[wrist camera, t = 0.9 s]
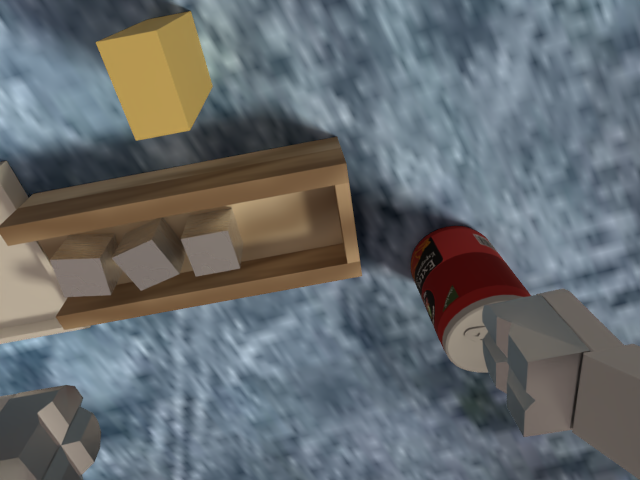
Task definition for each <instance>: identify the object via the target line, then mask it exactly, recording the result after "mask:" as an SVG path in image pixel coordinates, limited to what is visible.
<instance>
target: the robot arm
mask: <svg viewBox="0 0 640 480" xmlns="http://www.w3.org/2000/svg"><path fill="white" fill-rule="evenodd" d="M482 322H483V324H484V325H485V327H486V329H487V330H488V333H487V334H486V335H485V337H484V338H483V339H482V341H483V355H484V359H485V363H486V367H487V370H488V372H489V375H490V377H491V379H492V381H493V383H494V385H495V386H496V388H498V389H500V390H501V391H503V392H505V393H506V394H507V408H508V410H509V412H510V414H511V415H512V417H513V419H514V421H515V422H516V424H517V426H518V428H519V430H520V431H521V433H522V435H523V437H527V436H534V435H540V434H547V433H553V432H560V431H566V430H573V431H572V432H573V433H574V434H576V435H577V436H579V437H580V438H581V439H583V440H584V441H586V442H587V443H588V444H590V445H591V446H593V447H594V448H596V449H597V450H598V451H600V452H601V453H603V454H604V455H605V456H607V457H608V458H610V459H611V460H613V461H614V462H615V463H617V464H618V465H620V466H621V467H622V468H624V469H625V470H627V471H628V472H630V473H631V474H632V475H634V476H635V477H637V478H638V479H640V346H637V345H635V344H630V345H624V344H622V343H621V342H620V341H619V340H618V339H617V338H616V337H615V336H614V335H613V334H612V333H611V332H610V331H609V330H608V329H607V328H606V327H605V326H604V325H603V324H602V323H601V322H600V321H599V320H598V319H597V318H596V317H595V316H594V315H593V314H592V313H591V312H590V311H589V310H588V309H587V308H586V307H585V306H584V305H583V304H582V303H581V302H580V301H579V300H578V299H577V298H576V297H575V296H574V295H573V294H572V293H571V292H570V291H568V290H565V289H559V290H554V291H549V292H545V293H540V294H537V295H533V296H528V297H523V298H518V299H513V300H508V301H503V302H498V303H492V304H487V305H484V308H483V311H482ZM82 400H83V397H82V396H81V394H80V393H79V391H78V390H77V389H76V387H75V386H69V385H64V386H58V387H52V388H46V389H40V390H34V391H28V392H22V393H18V394H13V395H7V396H1V397H0V480H83V477H82V474H83V473H84V472H85V471H86V470H87V469H88V468H89V467H90V466H91V465H92V464H93V463H94V462H95V459H96V457H97V454H98V451H99V449H100V439H101V431H100V427H99V423H98V421H97V419H96V417H95V416H94V414H93V413H92V412H90V411H88V410H86V409H84V408H82V407H81V403H82Z"/></svg>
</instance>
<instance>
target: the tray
mask: <svg viewBox="0 0 640 480" xmlns="http://www.w3.org/2000/svg"><path fill="white" fill-rule="evenodd" d="M28 198H29V197H28V196H27V194H26V192H25V191H24V189H23V187H22V186H21V184H20V182H19V181H18V179H17V177H16V176H15V174H14V172H13V171H12V169H11V167H10V165H9V164H8V162H7V161H3V162H0V225H1V224H2V223H3V222H4V221H5V220H6V219H7V218H8V217H9V216H10V215H11V214H12V213H13V212H14V211H16V210H17V209H18V208H19V207H20V206H21V205H22V204H23V203H24V202H25V201H26V200H27V199H28ZM67 298H68V297H64V295H63V292H62V290H61V287H60V285H59V282H58V280H57V277H56V274H55V272H54V269H53V267H52V264H51V262H50V260H49V258H48V257H47V255H46V253H45V252H44V250H43V249H42V247H41V245H40V244H39V242H38V241H33V242H28V243H22V244H17V245H11V246H8V245H7V244H6V242H5V241H4V239H3V238H2V236H1V235H0V344H2V343H8V342H13V341H19V340H24V339H30V338H35V337H41V336H46V335H52V334H57V333H63V332H68V331H74V330H79V329H85V328H90V326H91V325H90V326H85V327H79V328H74V329H68V330H64V329H63V327H62V326H61V324H60V323H59V321H58V320H57V319H56V315H57V314H58V312H59V311H60V309H61V307H62V306H63V304H64V303H65V301H66V299H67Z"/></svg>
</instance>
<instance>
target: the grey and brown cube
mask: <svg viewBox="0 0 640 480" xmlns="http://www.w3.org/2000/svg"><path fill="white" fill-rule="evenodd" d="M117 247H118V244H117V241H116V237H115V234H114V233H110V234H80V235H69V236H68V237H67V238H66V240H65V241H64V242H63V243H62V245H61V246H60V247H59V249H58V250H57V251H56V253H55V254H54V255H53V257H52V258H51V259H50V262H51V264H52V267H53V269H54V272H55V274H56V277H57V280H58V282H59V285H60V287H61V290H62V292H63V295H64V297H80V296H103V295H111V294H112V292H113V290H114V288H115V286H116V284H117V282H118V280H119V278H120V276H121V274H122V272H123V270H122V269H121V268H120V267H119V266H118V265H117V264H116V263H115V261H114V260H113V259H112V256H113V255H114V253H115V251H116V249H117Z"/></svg>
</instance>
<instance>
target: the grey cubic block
mask: <svg viewBox="0 0 640 480" xmlns="http://www.w3.org/2000/svg"><path fill="white" fill-rule="evenodd" d="M181 241H182V244H183V246H184V249H185V251H186V253H187V256H188V258H189V261H190V263H191V266H192V268H193V271H194V273H195V276H202V275H207V274H213V273H218V272H224V271H229V270H235V269H240V267H241V258H242V250H243V241H242V238H241V235H240V232H239V229H238V226H237V222H236V219H235V216H234V213H233V210H232V208H228V209H222V210H217V211H212V212H206V213H201V214H195V215H190V216H189V217H188V220H187V223H186V225H185V228H184V231H183V234H182V237H181Z"/></svg>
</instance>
